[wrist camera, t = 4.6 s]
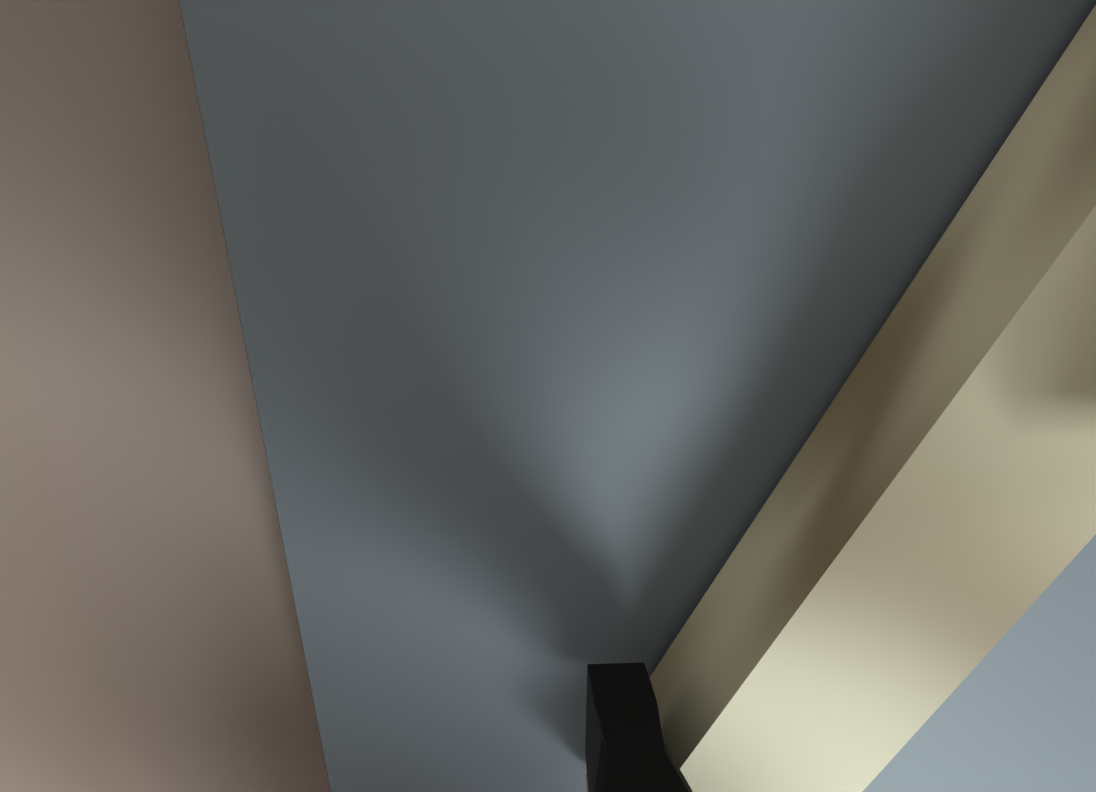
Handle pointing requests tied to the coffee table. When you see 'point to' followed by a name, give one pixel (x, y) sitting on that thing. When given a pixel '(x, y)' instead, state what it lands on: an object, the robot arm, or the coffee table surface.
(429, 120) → the board
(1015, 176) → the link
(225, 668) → the coffee table surface
